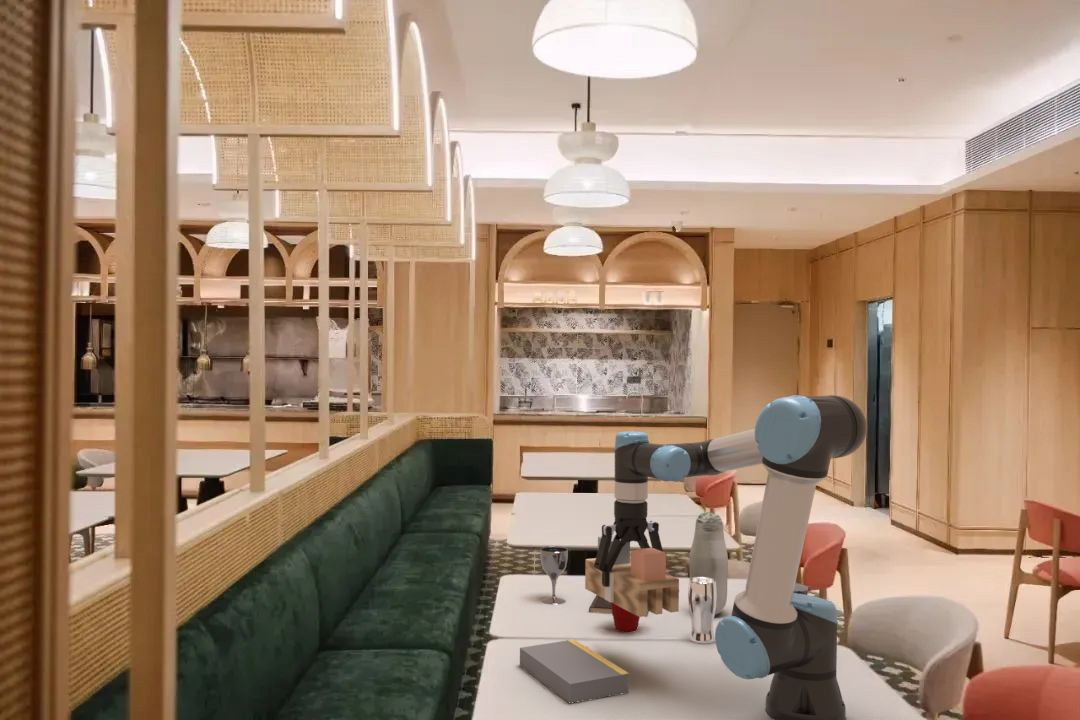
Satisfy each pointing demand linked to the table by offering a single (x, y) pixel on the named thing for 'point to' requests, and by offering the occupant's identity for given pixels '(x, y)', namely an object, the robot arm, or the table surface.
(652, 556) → the salmon pink cube
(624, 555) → the grey block
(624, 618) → the plastic cup
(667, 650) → the table surface
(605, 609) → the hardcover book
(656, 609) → the pallet
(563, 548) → the wine glass
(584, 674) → the block
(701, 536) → the grey bottle
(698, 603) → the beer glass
